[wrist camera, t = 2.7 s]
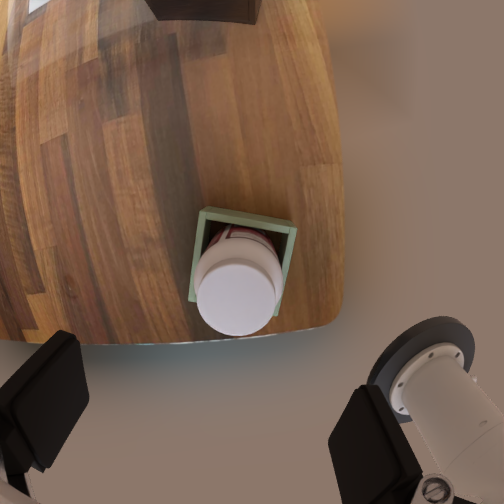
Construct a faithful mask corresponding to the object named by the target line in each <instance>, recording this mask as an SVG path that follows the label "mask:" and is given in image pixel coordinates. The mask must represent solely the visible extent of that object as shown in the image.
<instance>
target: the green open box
mask: <svg viewBox="0 0 504 504" xmlns="http://www.w3.org/2000/svg"><path fill="white" fill-rule="evenodd" d="M212 220H214V221H220V222H225V223H231V224H237V225H242V226H248V227H254V228H259V229H265V230H270V231H275V232H281V233H282V237H281V242H280V247H279V252H278V260H279V263H280V266H281V270H282V274H283V291H284V287H285V283H286V278H287V274H288V270H289V265H290V261H291V256H292V252H293V247H294V243H295V238H296V233H297V227H296V226H295V225H294V224H293V223H292V221H289V220H284V219H279V218H274V217H268V216H263V215H258V214H252V213H246V212H241V211H235V210H229V209H224V208H218V207H212V206H207V207H205V208H204V209H202V210H200V212H199V218H198V225H197V232H196V239H195V247H194V254H193V262H192V270H191V279H190V287H189V296H188V301H192V302H197V297H196V294H195V290H194V273H195V269H196V266H197V264H198V262H199V260H200V258H201V256H202V255H203V253H204V252H205V250H206V248H207V247H208V241H209V234H210V228H211V221H212ZM283 291H282V294H281V297H280V300H279V302H278V303H277V305H276V306H275V310H274V313H273V315H272V316H278V312H279V308H280V304H281V300H282V295H283Z"/></svg>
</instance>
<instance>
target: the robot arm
mask: <svg viewBox="0 0 504 504" xmlns="http://www.w3.org/2000/svg"><path fill="white" fill-rule="evenodd" d="M463 366H464V356H463V353H462V351H461V350H460V349H459V348H458V347H457V346H456V345H455V344H452V343H448V342H443V343H438V344H435V345H432V346H430V347H428V348H426V349H424V350H422V351H421V352H419V353H418V354H417V355H415V356H414V357H413V358H412V359H411V360H410V361H408V362H407V363H406V365H405V366H404V367H403V368H402V369H401V370H400V372H399V373H398V374H397V376H396V378H395V379H394V381H393V383H392V386H391V388H390V393H389V401H390V403H391V405H392V407H393V409H394V410H395V411H396V412H398V413H400V414H404V415H410V416H411V418H412V420H413V422H414V423H415V425H416V427H417V429H418V431H419V432H420V434H421V436H422V438H423V440H424V441H425V443H426V445H427V447H428V449H429V451H430V453H431V454H432V456H433V458H434V460H435V462H436V464H437V466H438V468H439V470H440V472H441V474H442V475H441V474H429V475H426V476H425V477H423V475H422V472H423V471H422V469H421V467H420V465H419V463H418V461H417V459H416V457H415V455H414V453H413V451H412V449H411V447H410V445H409V443H408V441H407V439H406V437H405V435H404V433H403V431H402V429H401V427H400V425H399V423H398V421H397V419H396V417H395V415H394V413H393V411H392V410H391V408H390V406H389V404H388V402H387V400H386V398H385V396H384V395H383V393H382V391H381V389H380V387H379V386H378V385H361V386H360V387H359V388H358V389H355V390H354V392H353V394H352V396H351V398H350V400H349V402H348V404H347V406H346V408H345V410H344V411H343V413H342V415H341V417H340V419H339V421H338V422H337V424H336V426H335V428H334V430H333V431H332V433H331V435H330V437H329V440H328V446H329V450H330V454H331V458H332V462H333V467H334V471H335V475H336V479H337V483H338V487H339V491H340V495H341V500H342V504H476V503H473V502H470V501H467V500H464V499H462V498H459V497H456V496H454V492H455V493H457V494H460V495H464V496H475V497H480V498H482V499H483V501H482V503H481V504H504V415H503V414H502V413H501V411H500V410H499V409H498V408H497V407H496V406H495V404H494V403H493V402H492V401H491V400H490V398H489V397H488V396H487V395H486V394H485V393H484V392H483V390H482V389H481V388H480V387H479V386H478V385H477V384H476V381H477V377H476V376H475V375H472V376H469V375H468V374H467V373H466V371H465V370H464V369H463ZM88 402H89V392H88V387H87V383H86V378H85V372H84V367H83V361H82V355H81V348H80V342H79V341H78V340H77V339H76V336H75V335H74V334H71V333H68V332H66V331H63V330H59V331H57V332H56V333H55V334H54V335H53V336H52V337H51V338H50V339H49V340H48V341H47V342H45V343H44V344H43V345H42V346H41V347H40V348H39V349H38V350H37V351H36V352H35V353H34V354H33V355H32V356H31V357H30V358H29V359H28V360H27V361H26V362H25V363H24V364H23V365H22V366H21V367H20V368H19V369H18V370H17V371H16V372H15V373H14V374H13V375H12V376H11V377H10V378H9V379H8V381H7V382H6V383H5V384H4V385H3V386H2V387H1V388H0V504H40V503H38V502H37V501H36V498H35V495H34V492H33V489H32V486H31V482H30V478H29V475H28V470H29V468H30V467H33V468H35V469H37V470H38V471H40V472H42V473H43V472H44V471H45V469H46V468H50V467H51V466H52V464H53V462H54V460H55V459H56V457H57V455H58V453H59V452H60V450H61V448H62V446H63V444H64V443H65V441H66V439H67V438H68V436H69V434H70V433H71V431H72V429H73V428H74V426H75V424H76V422H77V421H78V419H79V417H80V416H81V414H82V413H83V411H84V409H85V408H86V406H87V404H88Z"/></svg>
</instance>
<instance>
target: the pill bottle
mask: <svg viewBox="0 0 504 504" xmlns="http://www.w3.org/2000/svg"><path fill="white" fill-rule="evenodd" d="M194 290H195V294H196V297H197V305H198V309H199V312H200V314H201V316H202V317H203V319H204V320H205V321H206V323H207V324H208V325H210V326H211V327H212V328H213V329H215V330H217V331H219V332H221V333H223V334H227V335H232V336H243V335H248V334H251V333H254V332H256V331H258V330H260V329H261V328H262V327H264V326H265V325H266V324H267V323H268V321H269V320H270V319H271V317H272V315H273V313H274V310H275V306H276V305H277V303H278V302H279V300H280V297H281V294H282V291H283V274H282V270H281V266H280V263H279V260H278V257H277V254H276V251H275V248H274V245H273V243H272V241H271V239H270V237H269V236H268V235H267V234H266V233H265V232H264V231H263V230H262V229H259V228H254V227H248V226H242V225H237V224H230V225H227V226H225V227H224V228H222V229H221V230H220V231H219V232H218V233H216V235H215V236H214V237H213V238H212V240H211V242H210V243H209V245H208V247H207V248H206V250H205V252H204V253H203V255H202V256H201V258H200V260H199V262H198V264H197V266H196V269H195V273H194Z"/></svg>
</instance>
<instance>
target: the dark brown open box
mask: <svg viewBox="0 0 504 504" xmlns="http://www.w3.org/2000/svg"><path fill="white" fill-rule="evenodd" d="M145 1H146V3H147V4H148V6H149V7H150V9H151V10H152V12H153V13H154V15H155V16H156V18H157V19H158V20H208V21H224V22H236V23H245V24H253V25H255V24H256V20H257V16H258V12H259V8H260V4H261V0H145Z"/></svg>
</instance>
